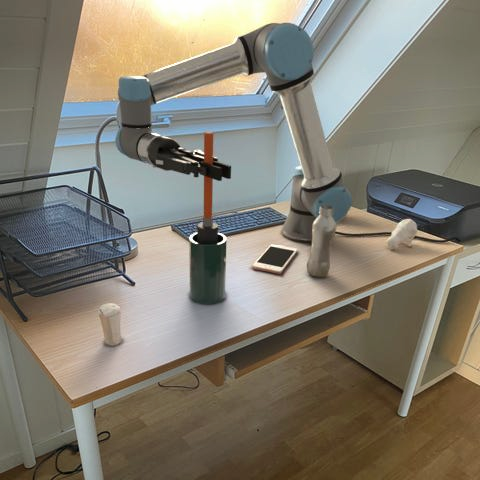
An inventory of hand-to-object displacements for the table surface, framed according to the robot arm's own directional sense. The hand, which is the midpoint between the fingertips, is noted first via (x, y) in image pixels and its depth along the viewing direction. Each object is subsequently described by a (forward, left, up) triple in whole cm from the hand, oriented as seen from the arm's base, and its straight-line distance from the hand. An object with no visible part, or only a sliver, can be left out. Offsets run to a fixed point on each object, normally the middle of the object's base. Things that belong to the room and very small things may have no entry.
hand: (225, 173), depth 103 cm
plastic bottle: (-32, -9, -33) cm, 47 cm away
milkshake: (+28, +10, -33) cm, 45 cm away
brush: (+2, -5, -20) cm, 21 cm away
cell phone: (-24, -21, -33) cm, 46 cm away
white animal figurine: (-68, -21, -33) cm, 78 cm away
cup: (+2, -5, -33) cm, 33 cm away
